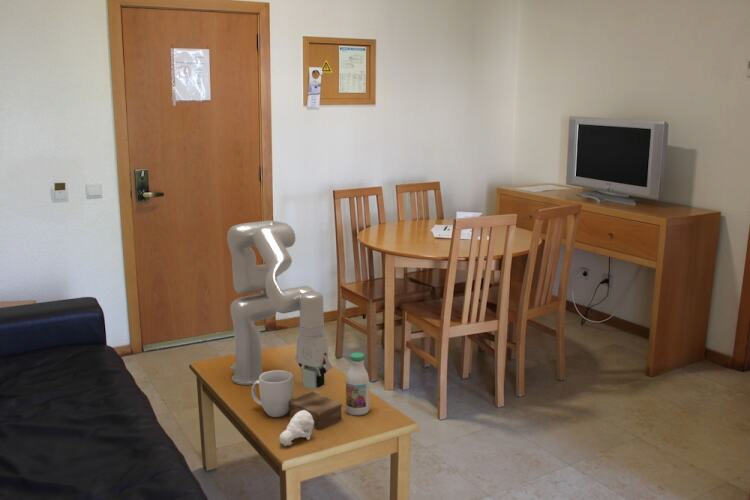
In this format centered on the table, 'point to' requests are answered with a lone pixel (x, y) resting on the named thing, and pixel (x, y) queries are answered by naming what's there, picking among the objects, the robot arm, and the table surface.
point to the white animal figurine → (298, 427)
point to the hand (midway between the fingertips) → (313, 383)
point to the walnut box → (317, 409)
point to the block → (310, 377)
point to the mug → (274, 392)
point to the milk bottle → (357, 386)
